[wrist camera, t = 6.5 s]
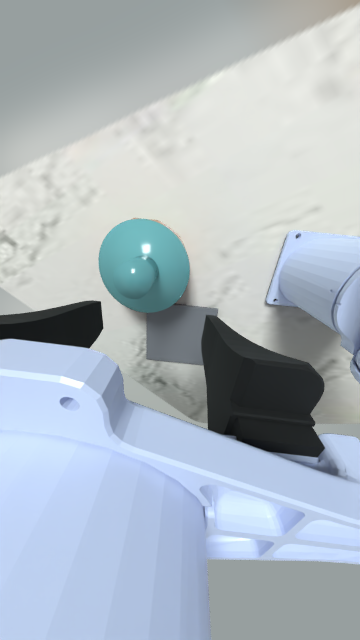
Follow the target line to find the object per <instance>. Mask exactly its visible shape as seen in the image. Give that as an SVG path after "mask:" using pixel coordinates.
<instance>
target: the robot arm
mask: <svg viewBox="0 0 360 640" xmlns="http://www.w3.org/2000/svg"><path fill="white" fill-rule="evenodd" d="M297 234H299V237H298V238H297V239H296V235H297ZM274 299H276V301H275V302H273V300H274ZM266 302H267V303H268V304H274V305H284V306H293V307H300V308H301V309H303V310H304V311H306V312H307V313H309V314H310V315H312V316H313V317H315V318H316V319H318V320H319V321H321V322H322V323H324V324H325V325H327V326H328V327H330V328H331V329H333V330H334V331H336V332H337V333H339V334H340V335H341V338H342V341H341V346H342V347H343V348H345V349H346V350H348V351H349V352H350V353H352V354H353V355H354V356H353V358H352V360H351V362H350V369H351V373H352V374H353V376H354V378H355V379H356V380H357V381H358V382H359V383H360V237H356V236H346V235H336V234H327V233H317V232H307V231H297V230H292V231H290V232H289V233H288V234H287V236H286V239H285V242H284V245H283V249H282V252H281V255H280V258H279V261H278V264H277V267H276V270H275V273H274V276H273V279H272V282H271V285H270V288H269V291H268V294H267V297H266ZM102 329H103V320H102V310H101V302H100V301H84V302H79V303H74V304H70V305H66V306H61V307H57V308H52V309H47V310H42V311H36V312H29V313H22V314H11V315H0V640H211V630H210V610H209V590H208V573H207V572H208V571H207V559H232V560H234V559H235V560H295V561H296V560H297V561H324V562H338V563H339V562H340V563H351V564H360V441H359V440H358V439H357V438H356V437H354V436H346V435H339V434H331V433H325V434H320V435H318V436H317V434H316V432H315V431H314V429H313V428H312V426H314V425H315V421H314V420H313V418H312V417H311V415H310V413H311V412H312V410H313V409H314V407H315V406H316V404H317V403H318V401H319V400H320V398H321V396H322V394H323V392H324V382H323V379H322V377H321V376H320V375H319V374H318V373H317V372H316V371H315V369H314V368H313V367H312V366H311V365H310V364H309V363H307V362H304V361H300V360H297V359H293V358H290V357H286V356H284V355H281V354H278V353H275V352H273V351H270V350H268V349H265V348H263V347H261V346H259V345H257V344H255V343H253V342H251V341H249V340H248V339H246V338H244V337H243V336H241V335H239V334H238V333H237V332H235V331H234V330H233V329H231V328H230V327H229V326H228V325H226V324H225V323H224V322H223V321H222V320H220V319H219V318H218V317H217V316H214V315H206V318H205V323H204V329H203V334H202V339H201V352H202V358H203V364H204V370H205V376H206V385H207V408H208V429H205V428H202V427H199V426H196V425H194V424H191V423H189V422H186V421H183V420H181V419H178V418H175V417H173V416H170V415H167V414H165V413H162V412H159V411H156V410H154V409H151V408H148V407H146V406H143V405H140V404H138V403H134V402H132V401H129V400H128V399H126V398H125V394H124V385H123V377H122V374H121V371H120V369H119V366H118V365H117V364H116V363H115V362H114V361H113V360H111V359H110V358H109V357H108V356H107V355H106V354H104V353H101V352H98V351H95V350H92V349H89V348H90V347H91V346H92V344H93V343H94V342H95V341H96V339H97V338H98V336H99V335H100V333H101V331H102Z"/></svg>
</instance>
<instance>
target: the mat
mask: <svg viewBox="0 0 360 640" xmlns="http://www.w3.org/2000/svg"><path fill="white" fill-rule="evenodd" d="M217 313H218V309H216V308H207V307H197V306H187V305H178V304H173V305H172V306H170V307H169V308H167V309H164V310H162V311H158V312H152V313H147V359H150V360H160V361H170V362H179V363H189V364H199V365H204V364H203V358H202V352H201V339H202V334H203V329H204V323H205V318H206V315H214V316H217Z"/></svg>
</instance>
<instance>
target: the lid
mask: <svg viewBox="0 0 360 640" xmlns="http://www.w3.org/2000/svg"><path fill="white" fill-rule="evenodd" d="M99 270H100V274H101V277H102V280H103V282H104V284H105V286H106V288H107V289H108V291H109V292H110V294H111V295H112V296H113V297H114V298H115V299H116V300H117V301H118V302H120V303H121V304H122V305H124V306H126V307H128V308H130V309H132V310H135V311H139V312H146V313H152V312H158V311H162V310H164V309H167V308H169V307H170V306H172V305H173V304H174V303H176V302H177V301H178V300H179V299H180V297H181V296H182V295H183V293H184V291H185V289H186V287H187V284H188V280H189V272H190V270H189V259H188V255H187V252H186V250H185V247H184V246H183V244H182V242H181V241H180V239H179V238H178V237H177V236H176V235H175V234H174V233H173V232H172V231H171V230H170V229H169V228H167V227H166V226H164V225H162V224H160V223H158V222H155V221H152V220H148V219H132V220H127V221H125V222H122V223H120V224H119V225H117V226H115V227H114V228H113V229H112V230H111V231H110V232H109V233H108V234H107V236H106V237H105V239H104V241H103V243H102V245H101V248H100V252H99Z"/></svg>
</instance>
